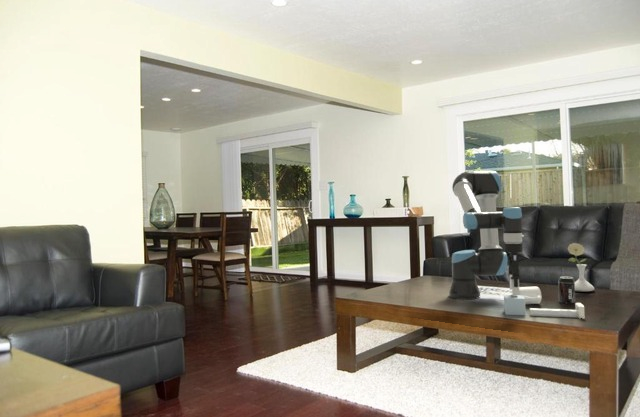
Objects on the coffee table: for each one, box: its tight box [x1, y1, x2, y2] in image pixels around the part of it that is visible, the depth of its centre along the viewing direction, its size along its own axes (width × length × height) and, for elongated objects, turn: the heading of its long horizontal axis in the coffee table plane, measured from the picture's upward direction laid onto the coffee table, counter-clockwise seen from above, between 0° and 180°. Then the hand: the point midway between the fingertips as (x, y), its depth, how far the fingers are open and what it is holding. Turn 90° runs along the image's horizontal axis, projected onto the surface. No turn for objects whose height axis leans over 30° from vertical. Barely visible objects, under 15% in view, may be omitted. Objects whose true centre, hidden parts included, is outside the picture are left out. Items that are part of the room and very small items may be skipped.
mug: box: [519, 286, 542, 305], centre depth 230 cm, size 12×10×8 cm
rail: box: [529, 302, 586, 320], centre depth 208 cm, size 20×7×5 cm, turn 73°
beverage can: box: [557, 275, 576, 305], centre depth 232 cm, size 7×7×12 cm
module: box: [503, 294, 526, 316], centre depth 215 cm, size 8×7×8 cm
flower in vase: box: [567, 242, 595, 293], centre depth 259 cm, size 13×11×25 cm
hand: (514, 292), depth 215 cm, fingers open, 13 cm apart
